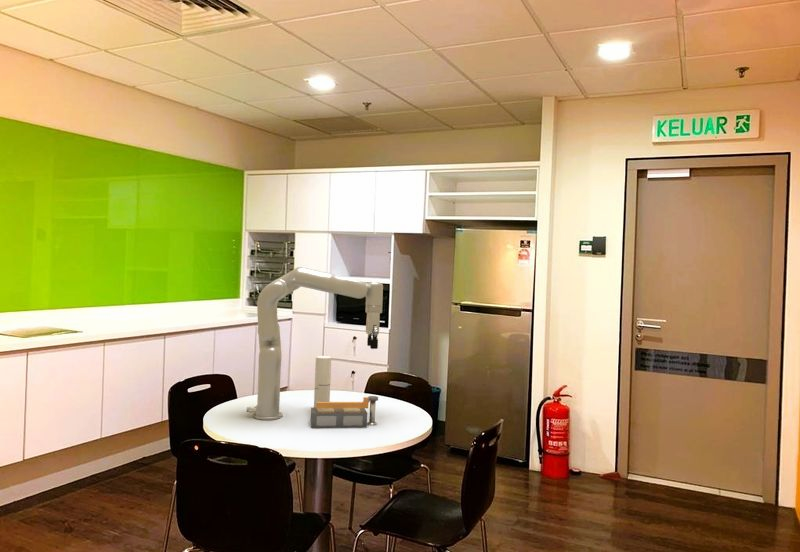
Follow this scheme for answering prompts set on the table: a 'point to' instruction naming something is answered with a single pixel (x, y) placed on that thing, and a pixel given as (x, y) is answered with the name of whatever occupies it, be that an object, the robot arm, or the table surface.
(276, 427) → the table surface
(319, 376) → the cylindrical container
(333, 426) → the block
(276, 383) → the robot arm
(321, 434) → the table surface
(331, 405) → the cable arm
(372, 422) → the post
